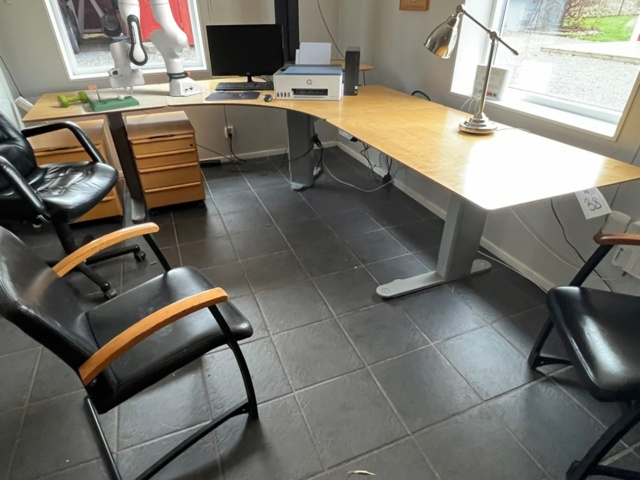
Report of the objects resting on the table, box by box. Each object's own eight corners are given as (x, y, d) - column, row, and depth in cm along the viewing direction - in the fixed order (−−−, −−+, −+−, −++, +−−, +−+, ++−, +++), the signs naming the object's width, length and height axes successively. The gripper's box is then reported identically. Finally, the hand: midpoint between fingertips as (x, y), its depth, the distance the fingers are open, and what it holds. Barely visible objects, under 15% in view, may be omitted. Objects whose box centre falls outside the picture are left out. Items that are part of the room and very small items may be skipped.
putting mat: (131, 99, 250) (126, 80, 243) (139, 105, 238) (134, 84, 231) (89, 106, 237) (82, 85, 231) (95, 112, 225) (88, 90, 219)
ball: (124, 99, 241) (122, 93, 239) (125, 100, 238) (123, 94, 236) (118, 100, 239) (116, 94, 237) (119, 101, 237) (117, 95, 235)
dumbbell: (64, 108, 234) (59, 96, 230) (58, 106, 238) (54, 94, 234) (91, 103, 245) (87, 91, 241) (85, 101, 249) (81, 89, 245)
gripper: (139, 67, 240) (145, 91, 247) (104, 71, 229) (111, 95, 237) (142, 69, 236) (148, 92, 243) (107, 72, 225) (114, 97, 232)
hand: (130, 94), depth 240 cm, fingers closed
